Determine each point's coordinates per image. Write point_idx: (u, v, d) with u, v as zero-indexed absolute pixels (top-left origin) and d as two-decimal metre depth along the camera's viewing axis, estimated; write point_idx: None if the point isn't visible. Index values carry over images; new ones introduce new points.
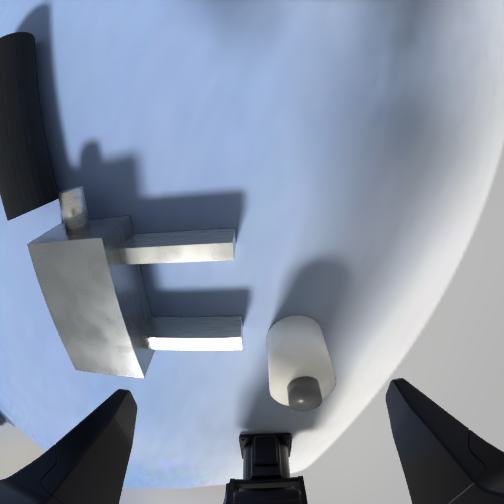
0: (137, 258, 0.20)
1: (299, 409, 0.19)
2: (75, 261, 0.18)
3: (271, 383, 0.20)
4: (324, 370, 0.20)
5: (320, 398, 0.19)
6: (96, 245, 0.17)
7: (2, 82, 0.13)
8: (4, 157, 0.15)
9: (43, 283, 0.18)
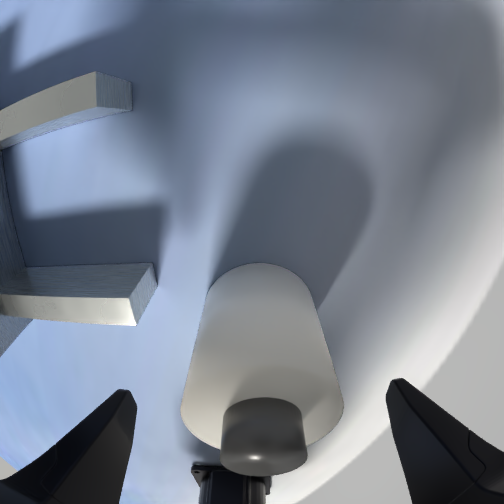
0: None
1: (251, 472, 0.07)
2: None
3: (182, 407, 0.08)
4: (315, 384, 0.07)
5: (302, 455, 0.07)
6: None
7: None
8: None
9: None
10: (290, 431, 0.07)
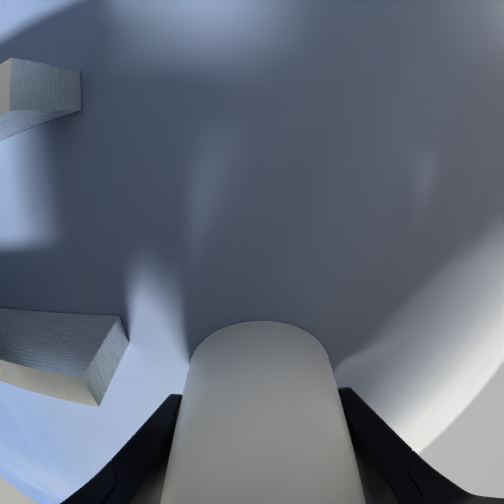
0: None
1: None
2: None
3: None
4: None
5: None
6: None
7: None
8: None
9: None
10: None
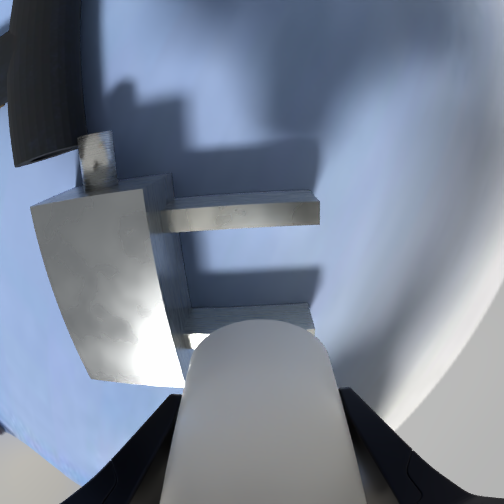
0: (187, 224, 0.15)
1: None
2: (98, 226, 0.13)
3: None
4: None
5: None
6: (133, 200, 0.12)
7: None
8: (25, 79, 0.10)
9: (49, 261, 0.14)
10: None
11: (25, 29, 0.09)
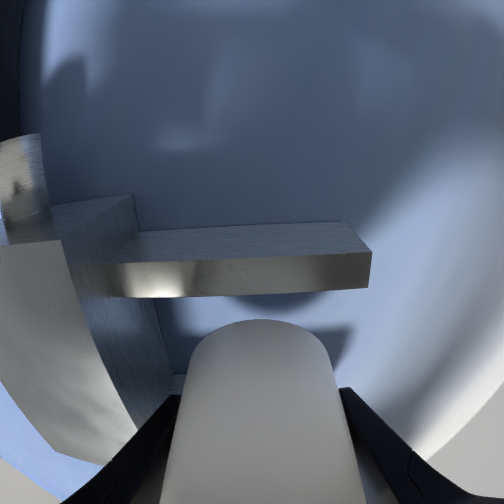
0: (150, 286, 0.09)
1: None
2: (14, 293, 0.07)
3: None
4: None
5: None
6: (50, 259, 0.06)
7: None
8: None
9: None
10: None
11: None
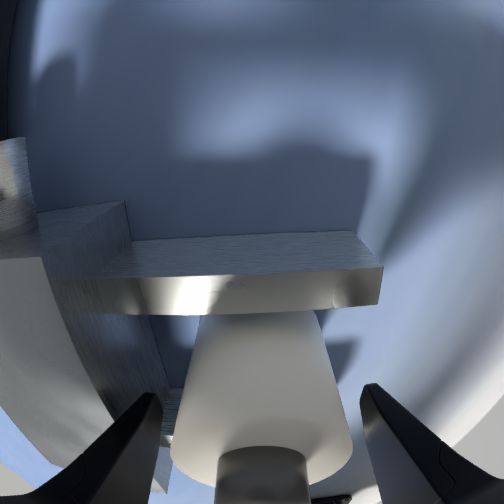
0: (142, 303, 0.08)
1: None
2: None
3: (172, 451, 0.06)
4: (323, 433, 0.06)
5: None
6: (31, 276, 0.05)
7: None
8: None
9: None
10: (293, 484, 0.05)
11: None
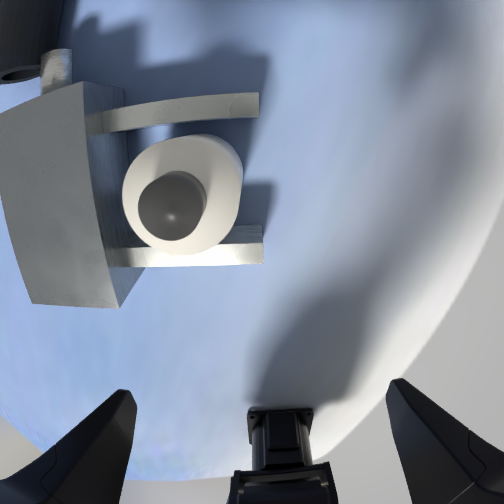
0: (126, 121, 0.13)
1: (161, 234, 0.11)
2: (43, 123, 0.11)
3: (124, 189, 0.12)
4: (211, 158, 0.11)
5: (196, 202, 0.10)
6: (74, 93, 0.11)
7: None
8: (12, 6, 0.08)
9: (1, 168, 0.12)
10: (187, 181, 0.10)
11: None
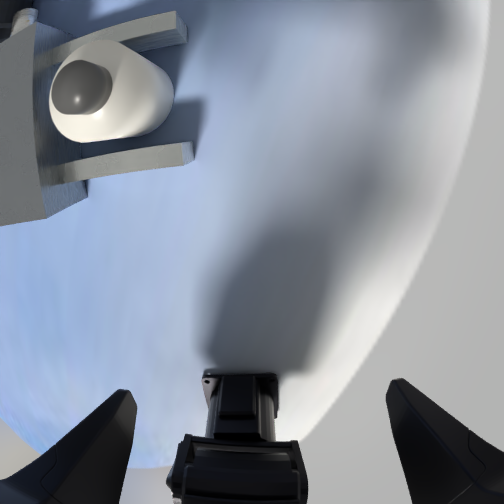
0: (69, 52, 0.12)
1: (66, 109, 0.09)
2: (5, 59, 0.10)
3: (51, 90, 0.10)
4: (117, 50, 0.10)
5: (93, 74, 0.09)
6: (29, 31, 0.09)
7: None
8: None
9: None
10: (91, 63, 0.09)
11: None
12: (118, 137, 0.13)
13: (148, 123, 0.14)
